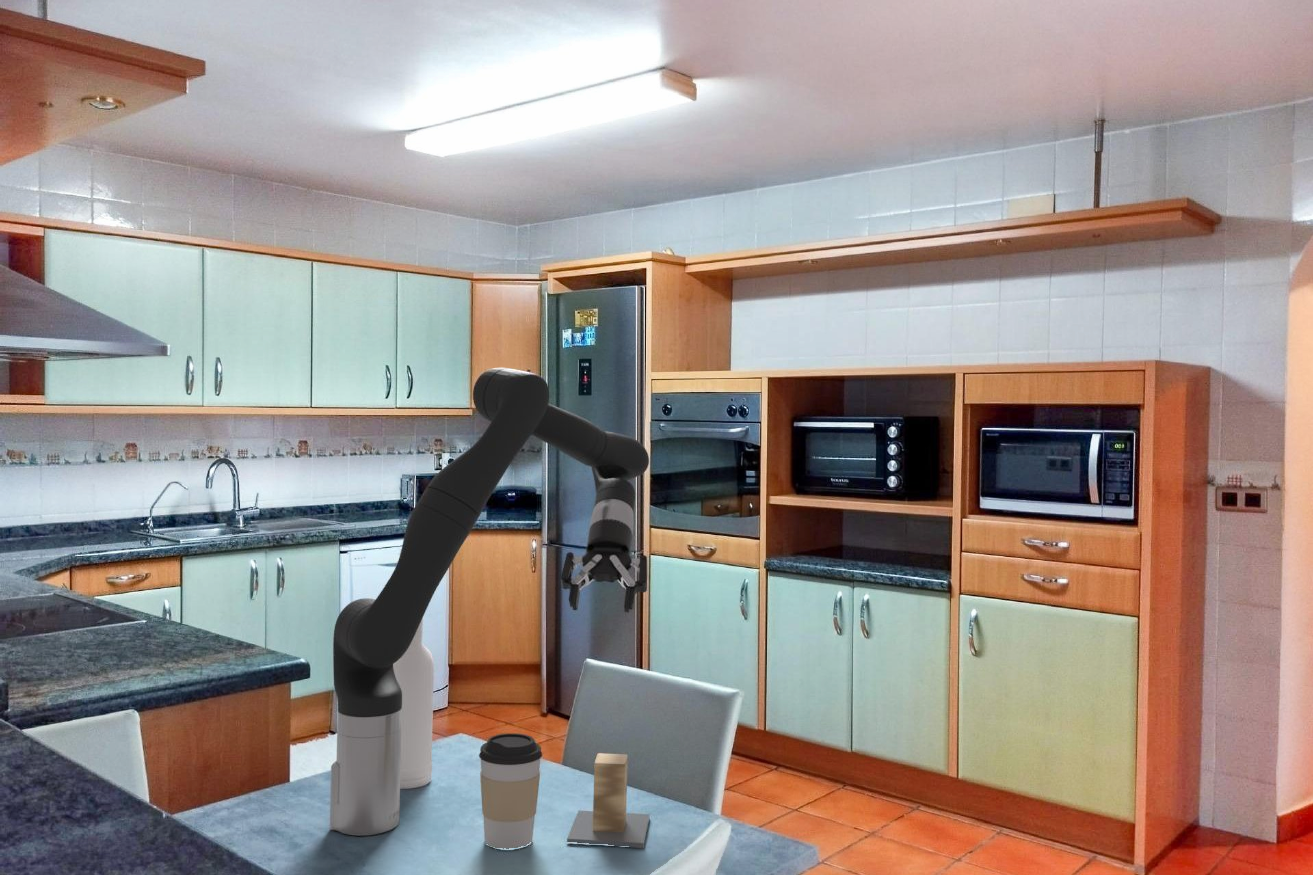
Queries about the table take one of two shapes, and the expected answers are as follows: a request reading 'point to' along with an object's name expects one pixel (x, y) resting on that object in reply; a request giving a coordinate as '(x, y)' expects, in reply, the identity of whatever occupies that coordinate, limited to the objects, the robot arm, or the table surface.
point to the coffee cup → (509, 789)
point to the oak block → (610, 792)
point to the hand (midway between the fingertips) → (600, 608)
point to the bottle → (416, 712)
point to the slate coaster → (629, 837)
